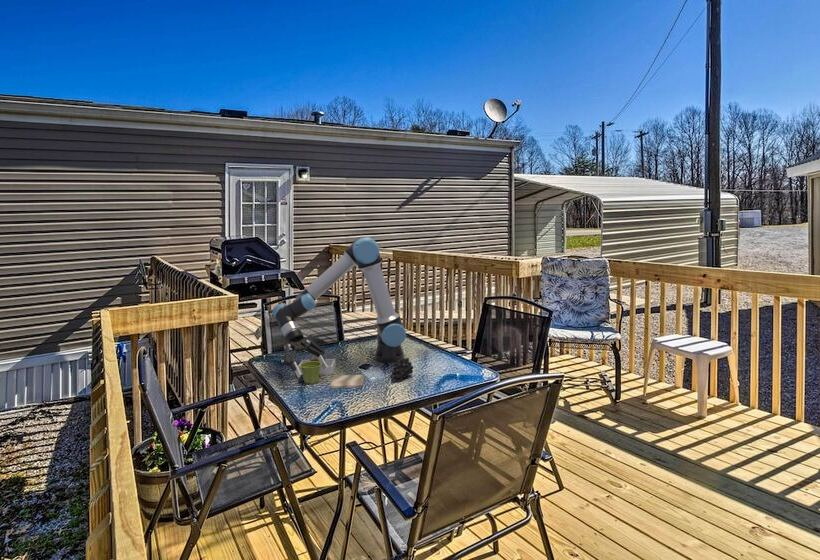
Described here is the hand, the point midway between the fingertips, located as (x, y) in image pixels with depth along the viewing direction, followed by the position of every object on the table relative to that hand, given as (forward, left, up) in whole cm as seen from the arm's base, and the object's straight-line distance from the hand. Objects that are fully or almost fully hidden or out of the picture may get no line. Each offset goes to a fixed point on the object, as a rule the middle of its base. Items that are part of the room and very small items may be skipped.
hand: (313, 372), depth 215 cm
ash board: (-15, -1, -5) cm, 16 cm away
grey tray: (+1, -17, -5) cm, 18 cm away
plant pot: (+1, -1, -6) cm, 6 cm away
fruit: (-38, -5, -6) cm, 39 cm away
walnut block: (+1, -17, -4) cm, 18 cm away
